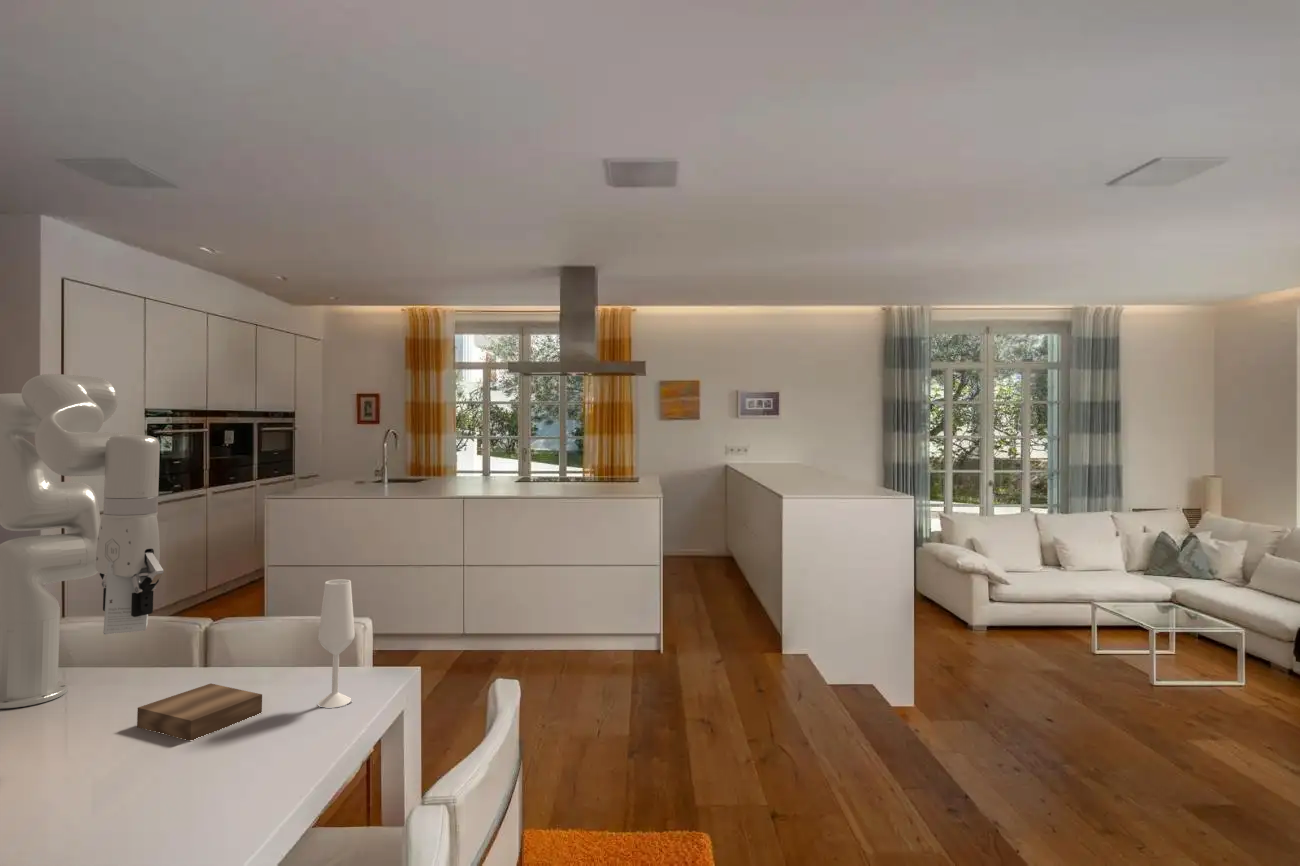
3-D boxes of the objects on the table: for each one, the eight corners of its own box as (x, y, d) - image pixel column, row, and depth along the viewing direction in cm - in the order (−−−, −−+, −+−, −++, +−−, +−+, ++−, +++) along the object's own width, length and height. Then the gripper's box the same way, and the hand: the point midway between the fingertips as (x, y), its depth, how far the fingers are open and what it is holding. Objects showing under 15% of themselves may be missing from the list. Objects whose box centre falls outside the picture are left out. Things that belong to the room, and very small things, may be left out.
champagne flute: (312, 700, 144) (316, 580, 144) (347, 693, 148) (351, 577, 148) (320, 711, 138) (324, 586, 139) (357, 704, 142) (360, 583, 143)
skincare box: (102, 635, 119) (105, 562, 119) (105, 628, 123) (107, 557, 123) (148, 631, 122) (150, 559, 122) (149, 624, 126) (151, 555, 126)
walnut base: (137, 729, 129) (137, 707, 129) (210, 703, 142) (210, 683, 142) (190, 744, 124) (191, 720, 124) (261, 715, 137) (262, 694, 137)
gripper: (75, 505, 122) (71, 610, 122) (141, 513, 116) (137, 624, 116) (121, 502, 129) (118, 601, 129) (187, 509, 123) (183, 613, 122)
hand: (127, 611), depth 122 cm, fingers closed on skincare box, 6 cm apart
